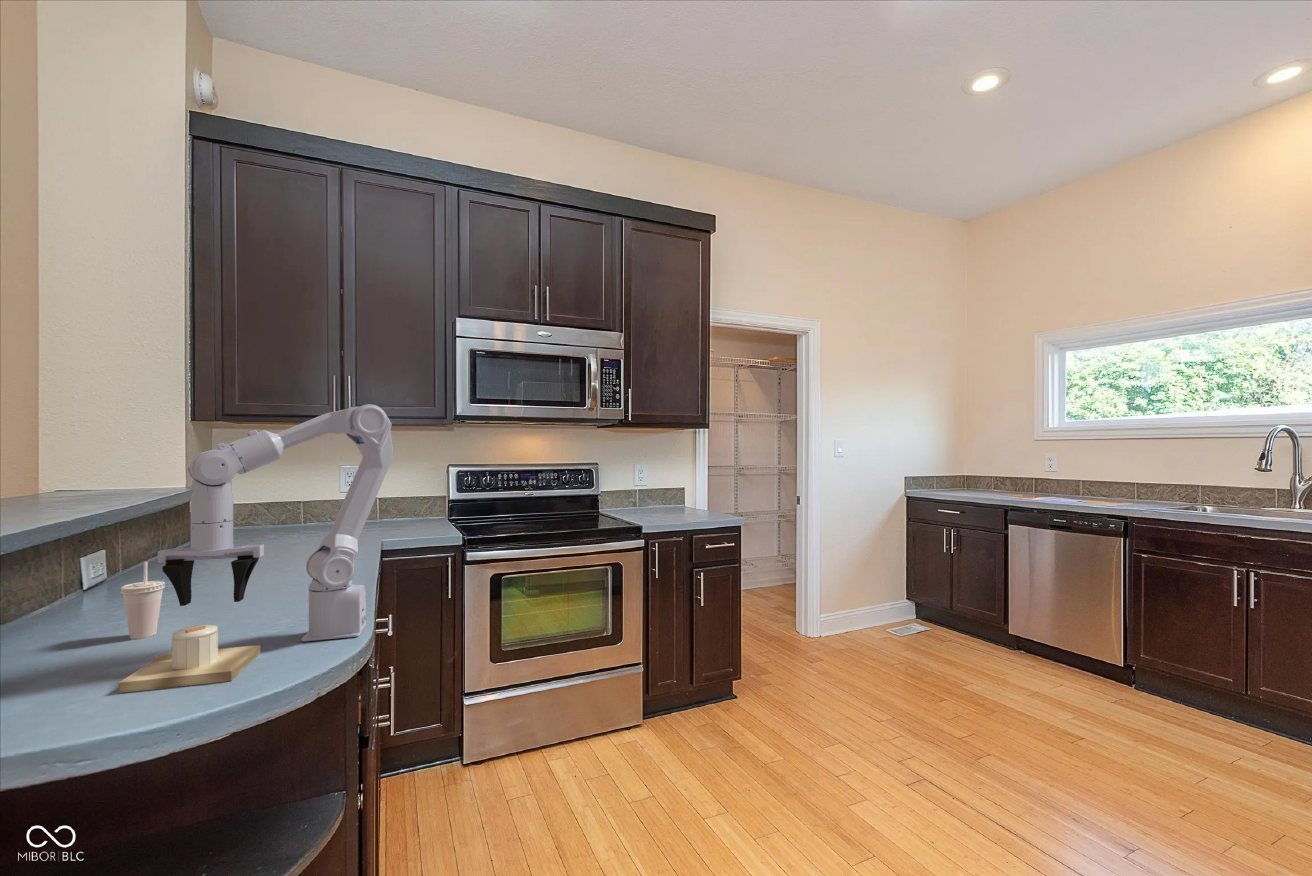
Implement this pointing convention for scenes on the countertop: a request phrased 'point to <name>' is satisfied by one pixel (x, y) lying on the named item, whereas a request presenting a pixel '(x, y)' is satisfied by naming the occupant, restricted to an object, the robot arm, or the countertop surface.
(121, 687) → the post board
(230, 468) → the robot arm
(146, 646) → the countertop surface
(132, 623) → the smoothie
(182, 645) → the cream short cylinder
